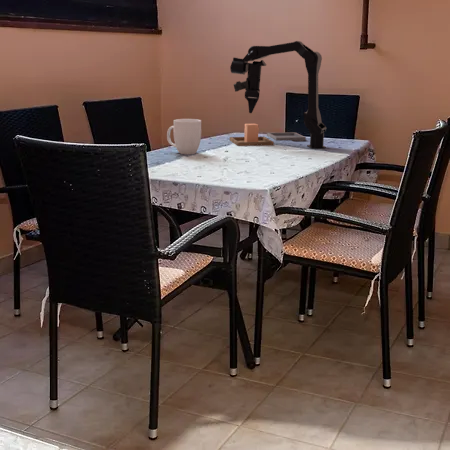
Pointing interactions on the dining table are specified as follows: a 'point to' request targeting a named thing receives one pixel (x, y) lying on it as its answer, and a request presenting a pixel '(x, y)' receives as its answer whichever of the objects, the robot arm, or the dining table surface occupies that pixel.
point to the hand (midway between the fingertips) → (250, 111)
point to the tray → (287, 136)
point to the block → (251, 133)
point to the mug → (186, 135)
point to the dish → (261, 141)
